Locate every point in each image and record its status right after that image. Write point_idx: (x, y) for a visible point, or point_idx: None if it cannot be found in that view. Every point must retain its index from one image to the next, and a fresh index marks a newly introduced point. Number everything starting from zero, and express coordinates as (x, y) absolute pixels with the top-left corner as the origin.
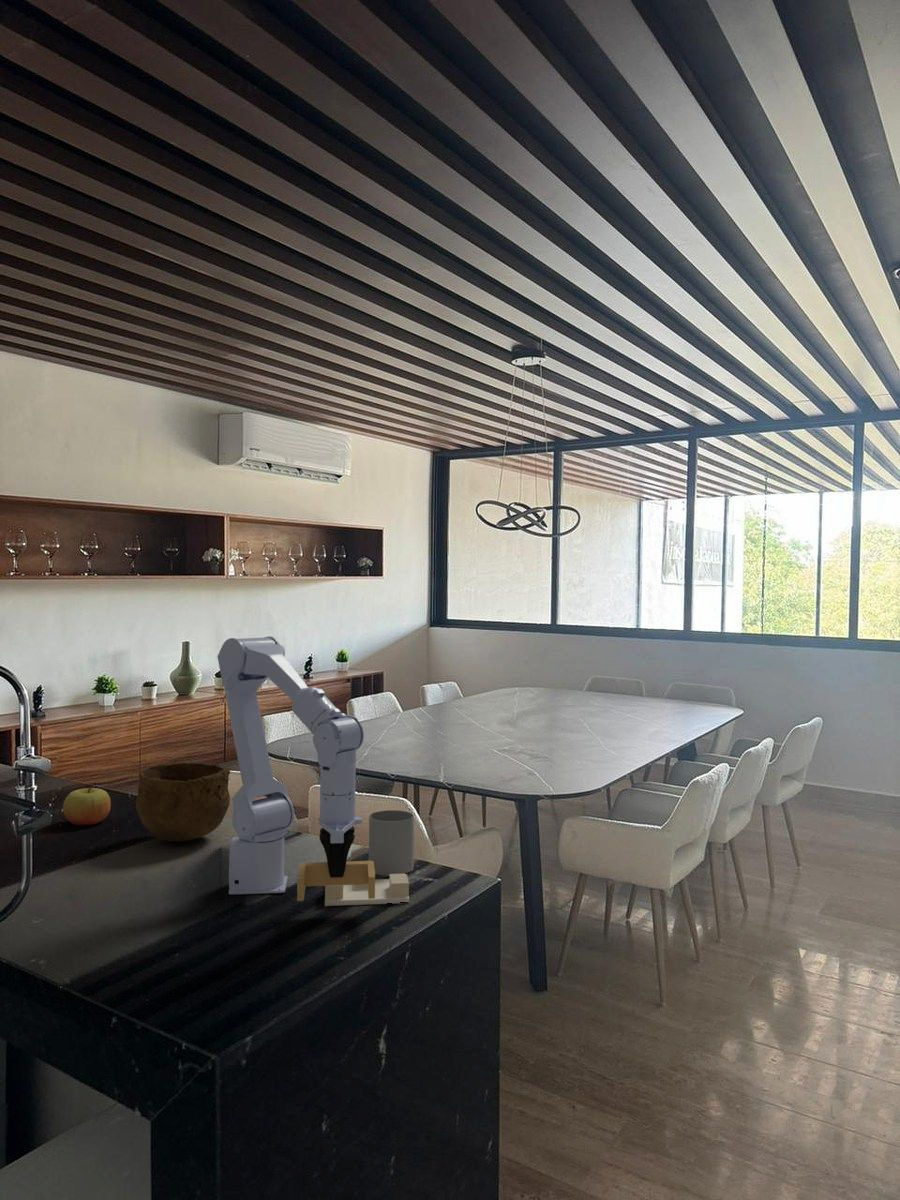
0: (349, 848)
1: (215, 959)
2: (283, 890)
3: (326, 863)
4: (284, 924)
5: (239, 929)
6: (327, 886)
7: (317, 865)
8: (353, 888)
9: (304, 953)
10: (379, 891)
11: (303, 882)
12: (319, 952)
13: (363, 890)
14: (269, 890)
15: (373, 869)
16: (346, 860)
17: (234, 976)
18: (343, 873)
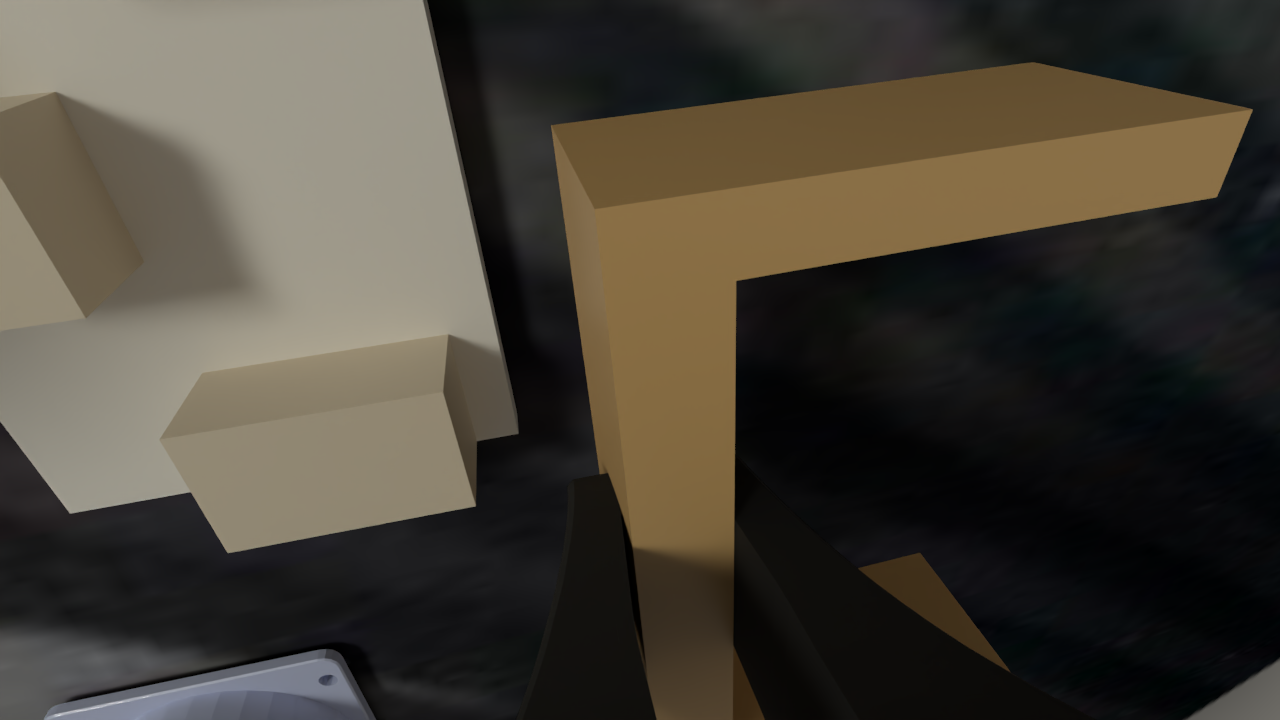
0: (1021, 681)
1: (1053, 619)
2: (332, 660)
3: (687, 669)
4: None
5: None
6: (473, 489)
7: (730, 706)
8: (181, 294)
9: (1139, 372)
10: (188, 30)
11: (1000, 660)
12: (1160, 312)
13: (205, 200)
14: (353, 708)
15: (983, 163)
16: (840, 554)
17: (1209, 535)
18: (746, 468)
